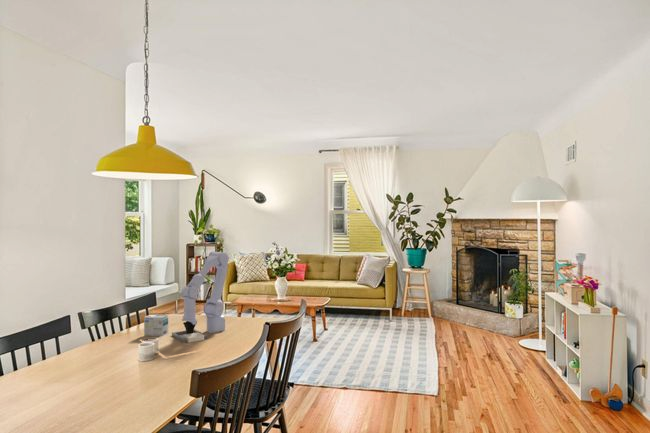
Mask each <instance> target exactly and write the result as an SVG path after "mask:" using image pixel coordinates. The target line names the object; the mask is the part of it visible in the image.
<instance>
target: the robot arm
mask: <svg viewBox="0 0 650 433" xmlns="http://www.w3.org/2000/svg"><path fill="white" fill-rule="evenodd" d="M229 259H230V258H229V256H228V253H227V252H225V251H223V252H222V251H210V252H209V253H208V255H207V257H206V261H205V262H204V264H203V266H202V267H201V269H200V271H199V272H198V273H196V274H195V275H193V276H192V278H191V279H190V281H189V283H187V285H186V286H184V287H183V288H182V291H181V292H180V294H181V297H182V300H183V315H182V318H181V321H183V323H182V324H183V325H184V328H185V330H186V332H187V334H191V333H193V330H194V329H195V328H196V325H198V319H197V318H196V297H197V296H198V294H199V290H200V288H201V286H202V285H203V283H204V282H205V278H206V276H207V274H208V273H209V272H210V270H211V269H212V268H213V267H215V268H216V274H215V278H214V281H213V282H214V283H213V286H212V291H211V295H210V297H209V298H208V299H207V300H206V302H205V304H204V306H203V313H204V315H205V317H206V333H211V334H214V333H218V332H223V331H226V318H225V316H224V315H223V313H224V302H223V300H222V295H223V290H224V287H225V282H226V277H227V273H228V270H229V269H228V268H229V267H228V263H229V261H230V260H229Z"/></svg>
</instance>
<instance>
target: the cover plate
mask: <svg viewBox="0 0 650 433" xmlns="http://www.w3.org/2000/svg"><path fill="white" fill-rule="evenodd" d="M183 338H185V339H186V341H187V342H186V343H189V344H190V343H195V342H200V341H205V339H204V335H202V334H200V333H198V332H196V333H191V334H185V335H183Z"/></svg>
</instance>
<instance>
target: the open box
mask: <svg viewBox="0 0 650 433" xmlns="http://www.w3.org/2000/svg"><path fill="white" fill-rule="evenodd" d="M196 332H198V333H200V334H202V335H204V340H206V339H208V335H207V334H205V333H202V332H201V331H198V330H197V329H195V328H194V330H193V333H196ZM185 334H187V332H186V329H185V330H180V331H179V330H178V331H175V332H171V336H172V337H173V338H174V339H177V340H178V341H181V343H184V344H185V343H188V342H187V341H186V339H185V338H183V335H185Z"/></svg>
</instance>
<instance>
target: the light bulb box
mask: <svg viewBox="0 0 650 433" xmlns="http://www.w3.org/2000/svg"><path fill="white" fill-rule="evenodd" d="M143 322H144V323H143V326H144V327H143V330H144V331H143V332H144V334H143V335H144V337H150V336H153V337H154V336H156V337H157V336H161V337H162V336H163V337H164V336H165V335H167V334H168V333H169V314H148V315H146V316H144V317H143Z"/></svg>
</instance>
